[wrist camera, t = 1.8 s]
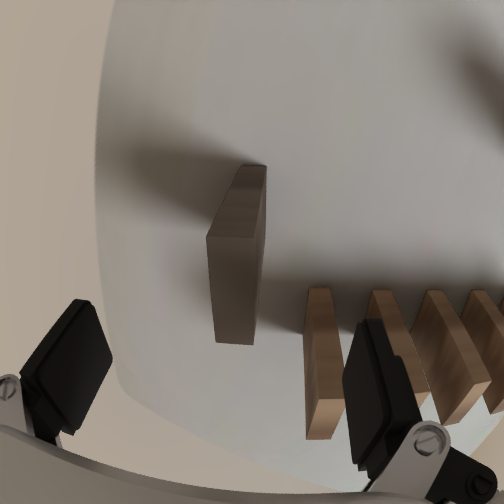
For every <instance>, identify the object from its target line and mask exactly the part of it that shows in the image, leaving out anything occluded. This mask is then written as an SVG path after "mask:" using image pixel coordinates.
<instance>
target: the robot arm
mask: <svg viewBox="0 0 504 504" xmlns="http://www.w3.org/2000/svg"><path fill="white" fill-rule="evenodd" d="M112 360H113V357H112V353H111V351H110V348H109V346H108V343H107V341H106V338H105V335H104V333H103V330H102V327H101V324H100V322H99V319H98V316H97V313H96V310H95V307H94V306H93V305H92V304H91V302H90V301H88V300H80V299H75V300H73V301H72V303H71V304H70V305H69V307H68V308H67V309H66V310H65V312H64V313H63V314H62V315H61V316H60V318H59V319H58V320H57V322H56V323H55V324H54V325H53V327H52V328H51V329H50V331H49V332H48V333H47V335H46V336H45V337H44V338H43V340H42V341H41V343H40V344H39V345H38V347H37V348H36V349H35V351H34V352H33V354H32V355H31V356H30V358H29V359H28V361H27V362H26V363H25V365H24V366H23V368H22V369H21V371H20V372H19V373H20V375H21V378H20V380H19V379H18V377H17V376H15V375H12V374H7V375H3V376H1V377H0V504H504V491H503V490H501V491H499V490H498V489H497V478H496V475H495V473H494V472H493V471H492V470H491V469H490V468H488V467H487V466H485V465H483V464H481V463H479V462H477V461H476V460H474V459H472V458H470V457H468V456H467V455H465V454H463V453H461V452H460V451H458V450H456V449H454V448H453V447H451V446H450V445H451V440H450V435H449V433H448V431H447V430H446V429H445V427H444V426H442V425H441V424H439V423H437V422H434V421H423V420H422V417H421V413H420V410H419V407H418V404H417V400H416V397H415V394H414V391H413V388H412V385H411V382H410V379H409V376H408V373H407V370H406V367H405V364H404V362H403V359H402V357H401V356H399V355H394V353H393V350H392V347H391V344H390V341H389V338H388V336H387V333H386V330H385V327H384V325H383V322H382V320H381V319H380V318H364V319H363V321H362V323H358V324H357V327H356V330H355V334H354V338H353V341H352V345H351V348H350V352H349V355H348V358H347V362H346V365H345V368H344V371H343V375H342V386H343V393H344V400H345V407H346V414H347V421H348V429H349V437H350V446H351V454H352V462H353V464H358V471H366V470H367V474H368V478H369V479H370V480H369V482H368V483H367V484H366V486H365V487H364V488H363V490H362V491H361V492H346V493H322V494H276V493H254V492H240V491H230V490H221V489H213V488H206V487H199V486H193V485H187V484H181V483H176V482H171V481H166V480H161V479H157V478H153V477H148V476H144V475H141V474H136V473H133V472H129V471H125V470H122V469H119V468H115V467H112V466H109V465H106V464H102V463H99V462H97V461H93V460H91V459H88V458H85V457H82V456H80V455H77V454H74V453H71V452H69V451H67V450H64V449H63V448H62V444H61V441H60V437H59V432H60V430H62V432H65V433H67V434H70V435H72V436H73V435H74V433H75V431H76V430H78V429H79V428H80V427H81V425H82V423H83V421H84V419H85V416H86V414H87V412H88V410H89V408H90V406H91V404H92V402H93V400H94V398H95V396H96V394H97V392H98V390H99V388H100V386H101V384H102V381H103V380H104V378H105V376H106V374H107V372H108V370H109V368H110V366H111V364H112Z"/></svg>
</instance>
